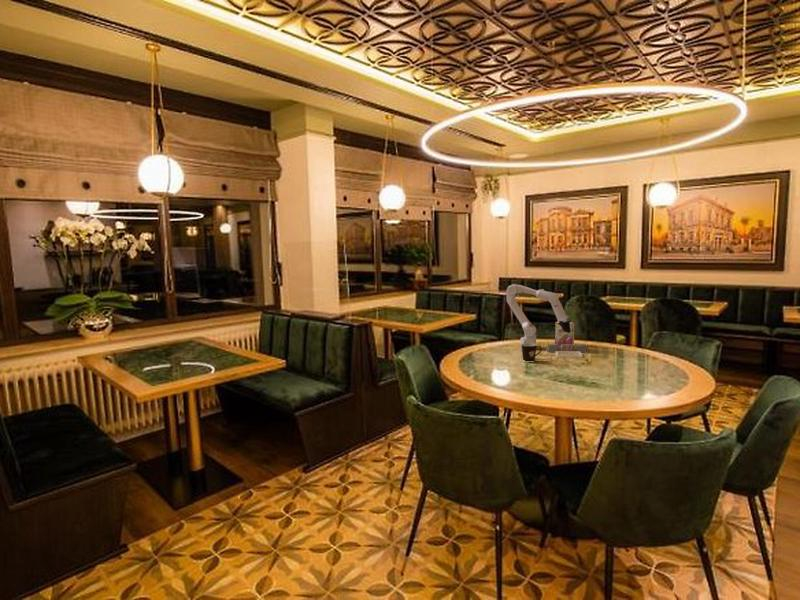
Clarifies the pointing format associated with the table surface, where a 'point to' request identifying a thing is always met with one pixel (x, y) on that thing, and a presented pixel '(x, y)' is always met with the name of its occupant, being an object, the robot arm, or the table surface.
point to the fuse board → (572, 350)
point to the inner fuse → (553, 348)
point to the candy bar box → (564, 335)
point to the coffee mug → (529, 351)
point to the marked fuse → (566, 347)
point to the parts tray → (569, 355)
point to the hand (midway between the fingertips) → (568, 332)
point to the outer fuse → (580, 348)
